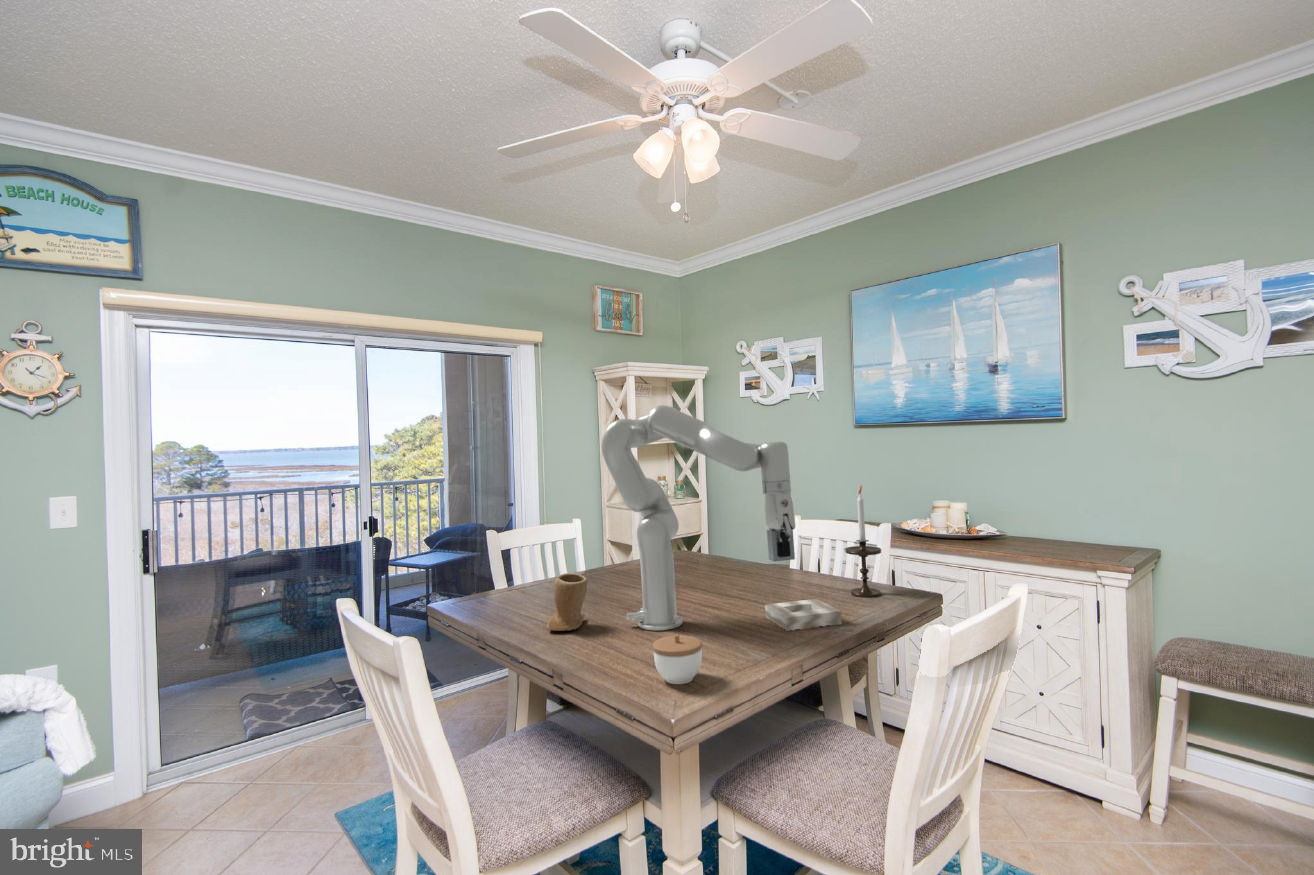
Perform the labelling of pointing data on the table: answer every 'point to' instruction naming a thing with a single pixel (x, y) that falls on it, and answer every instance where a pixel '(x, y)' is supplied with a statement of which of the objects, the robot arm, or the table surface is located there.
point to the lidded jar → (678, 658)
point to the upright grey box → (773, 546)
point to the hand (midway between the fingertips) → (781, 554)
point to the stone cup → (568, 602)
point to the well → (802, 614)
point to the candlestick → (863, 554)
